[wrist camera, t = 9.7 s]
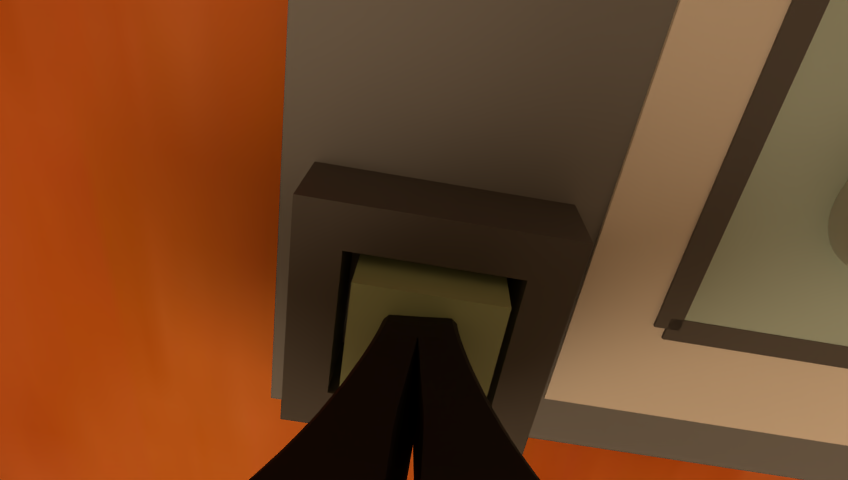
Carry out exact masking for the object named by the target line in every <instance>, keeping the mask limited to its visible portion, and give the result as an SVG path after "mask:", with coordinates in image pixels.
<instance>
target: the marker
mask: <svg viewBox="0 0 848 480" xmlns="http://www.w3.org/2000/svg"><path fill="white" fill-rule="evenodd" d="M828 236H829V240H830V244H831V246H832V249H833V251H834V252H835V254H836V255H837V257H838V258H839V259H840V260H841V261H842V262H843V263H844V264H845V265H847V266H848V181H847V182H846V184H845V185H844V187H843V188H842V189H841V191H840V192H839V194H838V196H837V198H836V200H835V202H834V204H833V207H832V209H831V212H830V216H829V222H828Z"/></svg>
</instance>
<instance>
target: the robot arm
mask: <svg viewBox="0 0 848 480" xmlns="http://www.w3.org/2000/svg"><path fill="white" fill-rule="evenodd" d="M412 447H413V461H414V480H540V479H539V478H538V476H537V475H536V474H535V472H534V471H533V470H532V468H531V467H530V466H529V464H528V463H527V461H526V460H525V459H524V457H523V456H522V454H521V453H520V452H519V450H518V449H517V447H516V446H515V444H514V443H513V441H512V440H511V438H510V436H509V435H508V433H507V432H506V430H505V428H504V427H503V425H502V423H501V422H500V420H499V418H498V417H497V415H496V413H495V412H494V410H493V408H492V406H491V404H490V403H489V401H488V399H487V397H486V395H485V393H484V391H483V389H482V387H481V385H480V383H479V381H478V379H477V377H476V375H475V373H474V371H473V369H472V366H471V364H470V362H469V359H468V357H467V354H466V352H465V349H464V347H463V344H462V341H461V338H460V335H459V331H458V327H457V323H456V322H455V321H454V320H453V319H452V318H436V317H419V316H403V315H388V316H387V317H385V318H384V319H383V321H382V323H381V325H380V327H379V329H378V331H377V333H376V334H375V336H374V338H373V339H372V341H371V343H370V344H369V346H368V347H367V349H366V350H365V352H364V353H363V355H362V356H361V358H360V359H359V361H358V362H357V363H356V365H355V366H354V368H353V369H352V370H351V372H350V373H349V375H348V376H347V377H346V379H345V380H344V381H343V383H342V384H341V385H340V386H339V388H338V389H337V390H336V391H335V392H334V394H333V395H332V396H331V397H330V398H329V400H328V401H327V402H326V403H325V405H324V406H323V407H322V408H321V409H320V411H319V412H318V413H317V414H316V415H315V416H314V417H313V418H312V419H311V421H310V422H309V423H308V424H307V425H306V426H305V427H304V428H303V429H302V430H301V431H300V432H299V433H298V434H297V435H296V436H295V437H294V438H293V439H292V440H291V441H290V442H289V443H288V444H287V445H286V446H285V447H284V448H283V449H282V450H281V451H280V452H279V453H278V454H277V455H276V456H275V457H274V458H273V459H271V460H270V461H269V462H268V463H267V464H266V465H265V466H264V467H263V468H262V469H260V470H259V471H258V472H257V473H256V474H255V475H254V476H253V477H251V478H250V479H249V480H407V475H408V470H409V464H410V458H411V453H412Z"/></svg>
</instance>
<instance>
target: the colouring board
mask: <svg viewBox="0 0 848 480" xmlns="http://www.w3.org/2000/svg"><path fill="white" fill-rule="evenodd" d="M847 181H848V0H288V21H287V44H286V67H285V90H284V113H283V136H282V159H281V182H280V204H279V227H278V250H277V273H276V296H275V319H274V342H273V365H272V388H271V398H276V399H282V401H281V419H285V420H291V421H298V422H305V423H309V422H310V421H311V419H312V418H313V417H314V416H315V415H316V414H317V413H318V412H319V411H320V409H321V408H322V407H323V406H324V405H325V403H326V402H327V401H328V400H329V398H330V397H331V396H332V395H333V394H334V392H335V391H336V390H337V389H338V388H339V385H340V376H341V367H342V359H343V350H344V342H345V333H346V325H347V316H348V307H349V299H350V290H351V282H352V279H353V276H354V273H355V269H356V266H357V263H358V260H359V256H360V254H366V255H372V256H378V257H384V258H391V259H397V260H403V261H409V262H415V263H421V264H428V265H434V266H440V267H446V268H452V269H458V270H464V271H471V272H477V273H483V274H489V275H495V276H501V277H507V283H508V290H509V296H510V302H511V312H510V316H509V319H508V323H507V326H506V330H505V334H504V337H503V341H502V344H501V348H500V351H499V355H498V359H497V362H496V366H495V369H494V373H493V377H492V380H491V384H490V387H489V391H488V395H487V399H488V401H489V403H490V404H491V406H492V408H493V410H494V412H495V413H496V415H497V417H498V418H499V420H500V422H501V423H502V425H503V427H504V428H505V430H506V432H507V433H508V435H509V436H510V438H511V440H512V441H513V443H514V444H515V446H516V447H517V449H518V450H519V452H520V453H521V454H523V451H524V448H525V445H526V442H527V439H528V437H530V438H537V439H543V440H550V441H556V442H563V443H569V444H576V445H582V446H589V447H595V448H602V449H608V450H615V451H621V452H628V453H634V454H641V455H647V456H654V457H660V458H667V459H673V460H680V461H686V462H693V463H699V464H706V465H712V466H719V467H725V468H732V469H738V470H745V471H751V472H758V473H764V474H771V475H777V476H784V477H790V478H797V479H803V480H848V266H847V265H845V264H844V263H843V262H842V261H841V260H840V259H839V258H838V257H837V255H836V254H835V252H834V251H833V249H832V246H831V244H830V240H829V236H828V222H829V216H830V212H831V209H832V207H833V204H834V202H835V200H836V198H837V196H838V194H839V192H840V191H841V189H842V188H843V187H844V185H845V184H846V182H847Z"/></svg>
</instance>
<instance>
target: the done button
mask: <svg viewBox="0 0 848 480" xmlns="http://www.w3.org/2000/svg"><path fill="white" fill-rule="evenodd" d="M510 312H511V302H510V296H509V290H508V283H507V277H501V276H495V275H489V274H483V273H477V272H471V271H464V270H458V269H452V268H446V267H440V266H434V265H428V264H421V263H415V262H409V261H403V260H397V259H391V258H384V257H378V256H372V255H366V254H360V256H359V260H358V263H357V266H356V269H355V273H354V276H353V279H352V282H351V290H350V299H349V307H348V316H347V325H346V333H345V342H344V350H343V359H342V367H341V376H340V385H341V384H342V383H343V381H344V380H345V379H346V377H347V376H348V375H349V373H350V372H351V370H352V369H353V368H354V366H355V365H356V363H357V362H358V361H359V359H360V358H361V356H362V355H363V353H364V352H365V350H366V349H367V347H368V346H369V344H370V343H371V341H372V339H373V338H374V336H375V334H376V333H377V331H378V329H379V327H380V325H381V323H382V321H383V319H384V318H385V317H387V316H388V315H403V316H419V317H436V318H452V319H453V320H454V321H455V322H456V323H457V327H458V331H459V335H460V338H461V341H462V344H463V347H464V349H465V352H466V354H467V357H468V359H469V362H470V364H471V366H472V369H473V371H474V373H475V375H476V377H477V379H478V381H479V383H480V385H481V387H482V389H483V391H484V393H485V395H486V397H487V395H488V391H489V387H490V384H491V380H492V377H493V373H494V369H495V366H496V362H497V359H498V355H499V351H500V348H501V344H502V341H503V337H504V334H505V330H506V326H507V323H508V319H509V316H510ZM340 385H339V386H340Z"/></svg>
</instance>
